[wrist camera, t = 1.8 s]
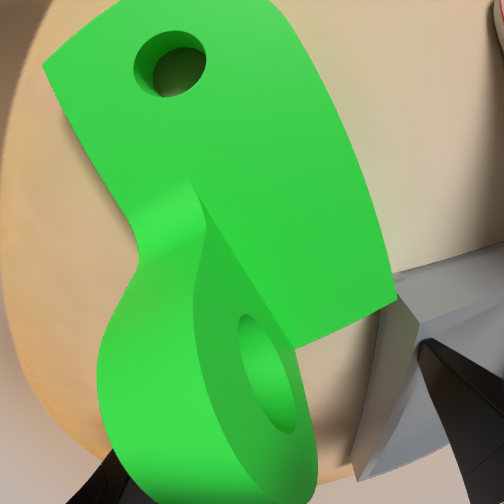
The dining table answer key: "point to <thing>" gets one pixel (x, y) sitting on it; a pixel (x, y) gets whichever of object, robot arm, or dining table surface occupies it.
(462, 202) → the dining table surface
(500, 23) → the soda can
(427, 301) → the tray
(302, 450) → the mechanical part
